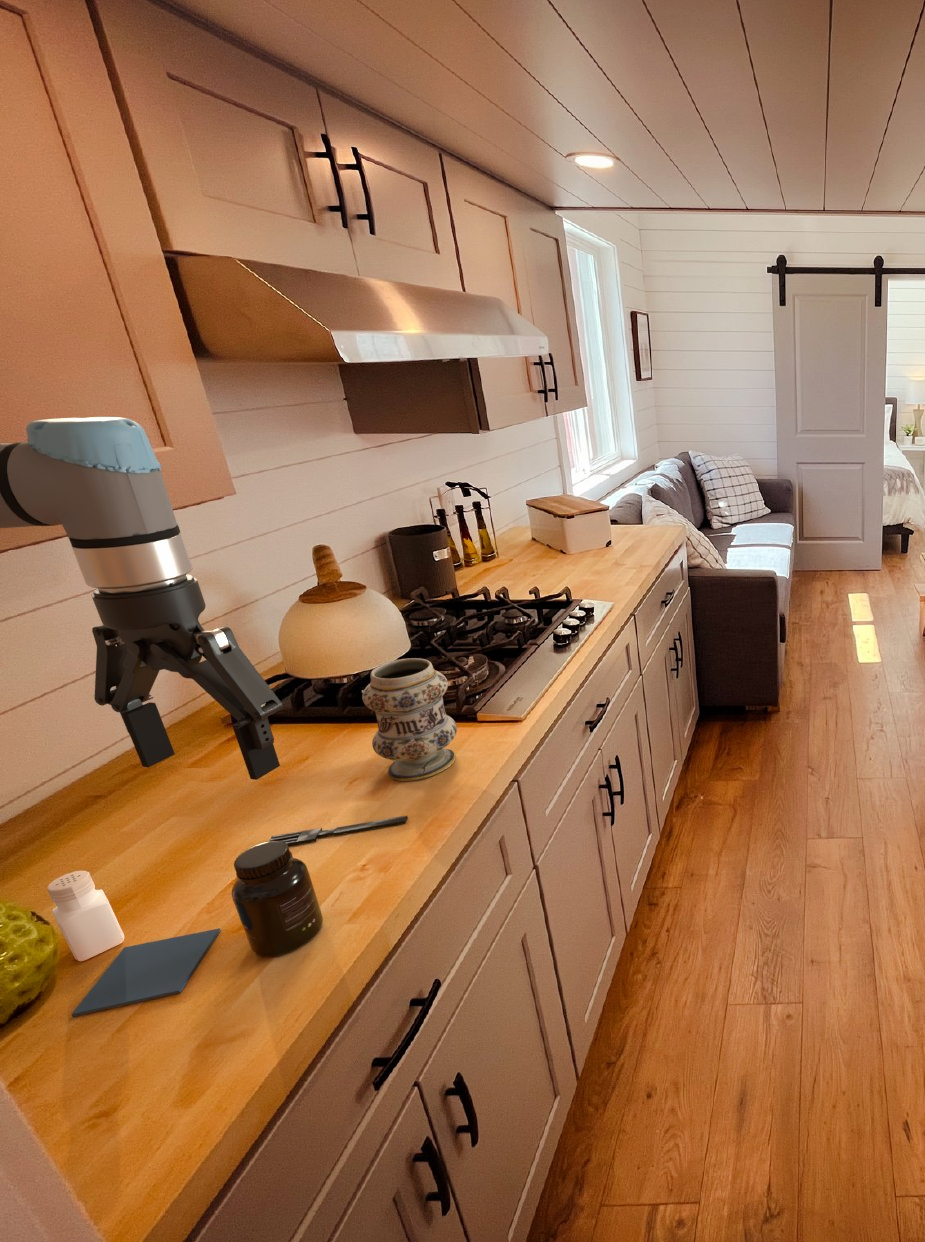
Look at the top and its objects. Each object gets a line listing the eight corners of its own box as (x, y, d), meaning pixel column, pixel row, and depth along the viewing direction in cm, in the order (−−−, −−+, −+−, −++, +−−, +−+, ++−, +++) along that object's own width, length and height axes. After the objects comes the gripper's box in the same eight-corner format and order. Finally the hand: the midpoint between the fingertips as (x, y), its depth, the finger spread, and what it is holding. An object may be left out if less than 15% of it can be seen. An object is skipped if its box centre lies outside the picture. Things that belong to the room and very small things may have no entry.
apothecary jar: (479, 751, 118) (460, 657, 112) (423, 790, 107) (399, 689, 101) (421, 741, 121) (400, 649, 115) (362, 779, 110) (335, 679, 104)
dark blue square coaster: (72, 1017, 70) (70, 1014, 70) (125, 949, 78) (124, 947, 78) (180, 993, 73) (179, 990, 72) (220, 930, 81) (219, 928, 80)
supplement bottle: (236, 955, 77) (203, 871, 73) (289, 911, 84) (261, 831, 79) (289, 963, 76) (259, 878, 72) (339, 917, 83) (314, 837, 79)
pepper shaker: (119, 926, 81) (89, 862, 78) (127, 942, 79) (97, 877, 75) (70, 948, 78) (38, 883, 75) (78, 965, 76) (44, 898, 72)
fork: (265, 850, 94) (264, 847, 94) (272, 838, 96) (271, 835, 96) (404, 826, 99) (404, 823, 99) (408, 815, 101) (408, 812, 101)
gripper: (289, 577, 68) (341, 758, 75) (84, 564, 72) (153, 738, 79) (214, 601, 61) (279, 798, 68) (-9, 585, 65) (76, 774, 72)
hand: (211, 766), depth 74 cm, fingers open, 13 cm apart
